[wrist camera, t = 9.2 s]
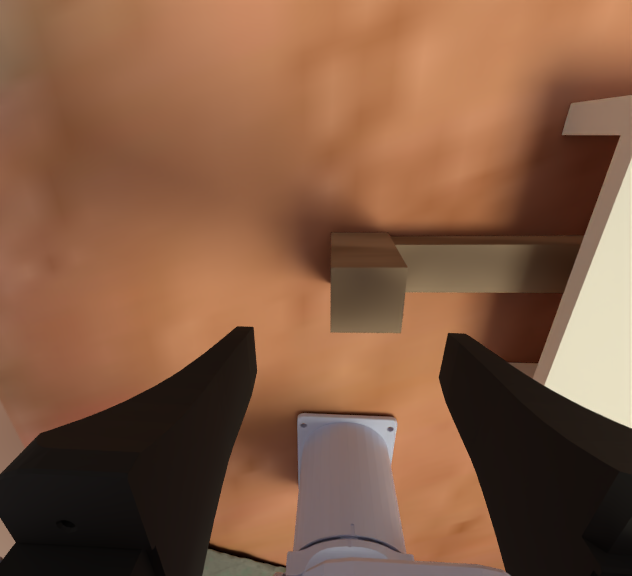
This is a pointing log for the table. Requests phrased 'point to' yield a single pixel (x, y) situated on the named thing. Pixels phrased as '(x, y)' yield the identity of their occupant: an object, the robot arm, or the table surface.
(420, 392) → the table surface
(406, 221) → the table surface
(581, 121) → the plinth shelf
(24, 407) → the table surface
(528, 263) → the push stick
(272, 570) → the stone slab
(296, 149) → the table surface
